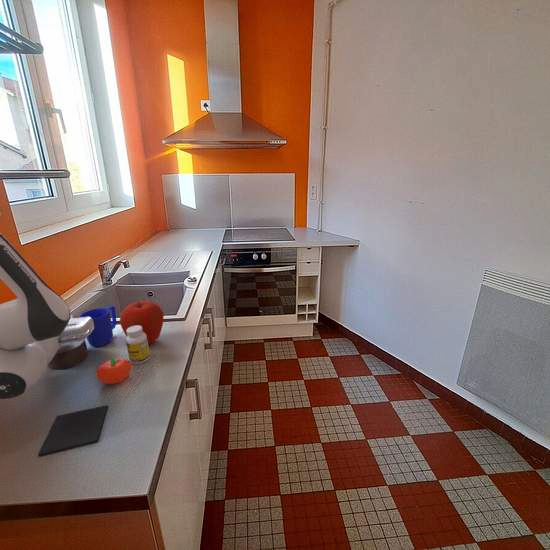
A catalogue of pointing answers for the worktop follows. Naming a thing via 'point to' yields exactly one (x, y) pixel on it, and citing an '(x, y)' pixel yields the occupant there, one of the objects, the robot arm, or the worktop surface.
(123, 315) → the apple
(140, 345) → the supplement bottle
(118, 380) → the pumpkin
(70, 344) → the plinth
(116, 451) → the worktop surface
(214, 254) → the worktop surface
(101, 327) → the mug
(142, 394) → the worktop surface
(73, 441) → the mat
